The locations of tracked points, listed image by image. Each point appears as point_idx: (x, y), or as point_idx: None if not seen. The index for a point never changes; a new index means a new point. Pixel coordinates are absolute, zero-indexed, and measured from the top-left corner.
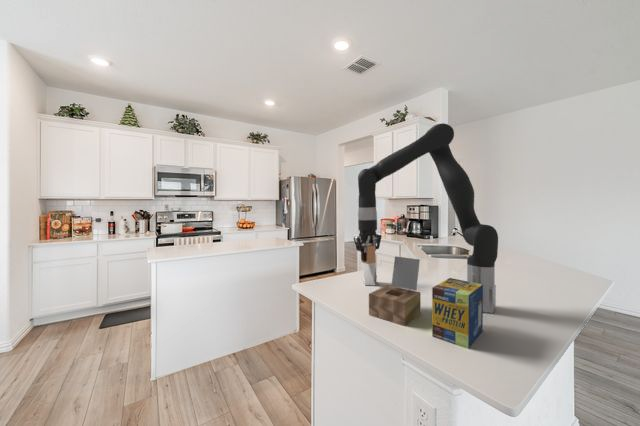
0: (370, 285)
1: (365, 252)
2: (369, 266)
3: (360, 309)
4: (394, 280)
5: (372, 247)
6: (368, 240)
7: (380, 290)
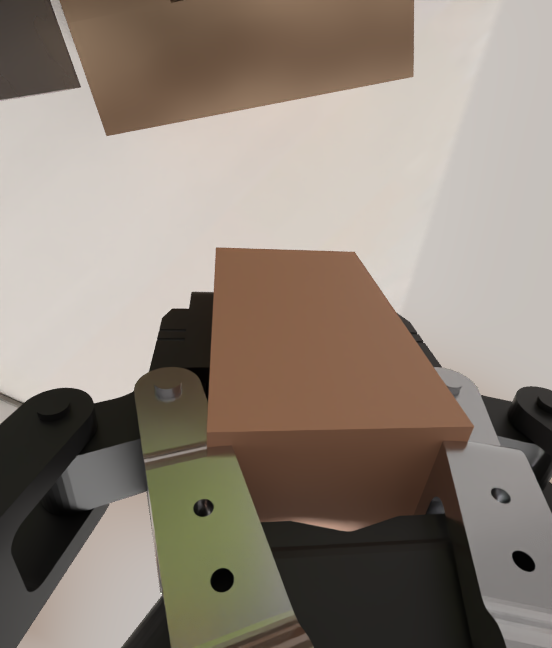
0: (5, 398)
1: (434, 367)
2: None
3: (333, 171)
4: (35, 60)
5: (304, 396)
6: (518, 599)
7: (271, 65)
